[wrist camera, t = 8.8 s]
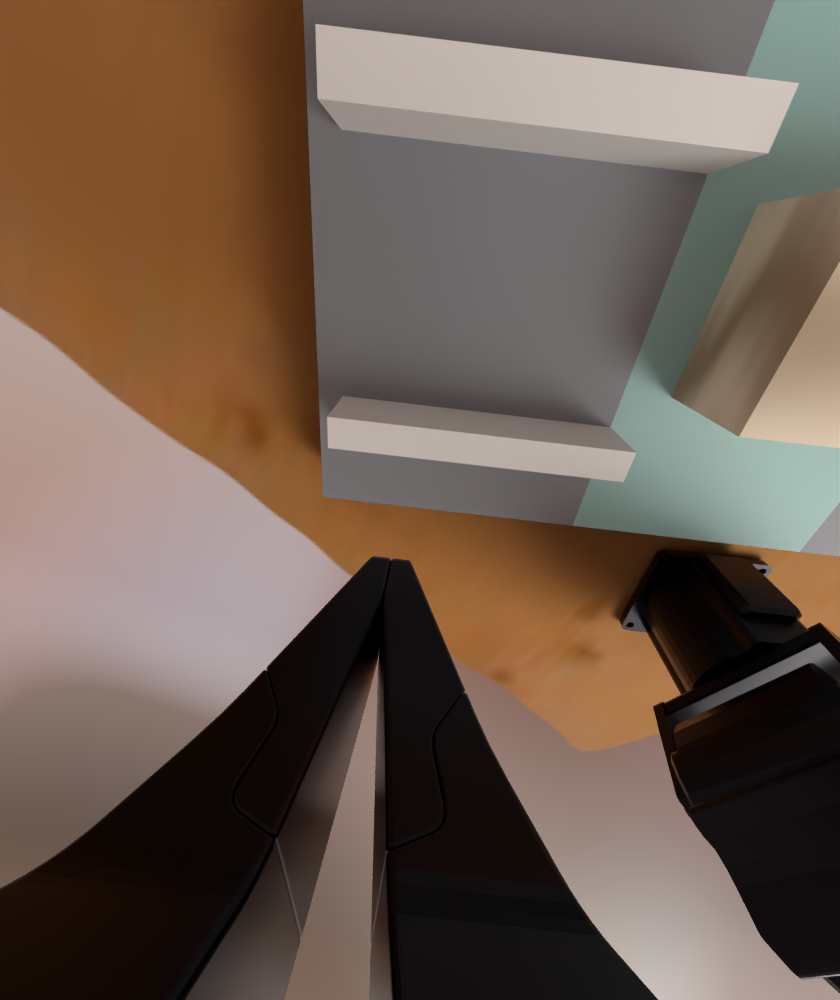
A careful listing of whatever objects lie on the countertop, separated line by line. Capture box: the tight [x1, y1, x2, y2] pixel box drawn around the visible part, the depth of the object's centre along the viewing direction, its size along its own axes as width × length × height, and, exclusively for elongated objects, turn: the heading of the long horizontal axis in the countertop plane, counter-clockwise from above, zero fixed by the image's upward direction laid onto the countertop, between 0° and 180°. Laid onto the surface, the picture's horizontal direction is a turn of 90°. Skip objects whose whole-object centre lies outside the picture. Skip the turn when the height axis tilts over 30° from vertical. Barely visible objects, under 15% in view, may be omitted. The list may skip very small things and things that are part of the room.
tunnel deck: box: [303, 0, 840, 556], centre depth 14 cm, size 18×32×6 cm, turn 84°
